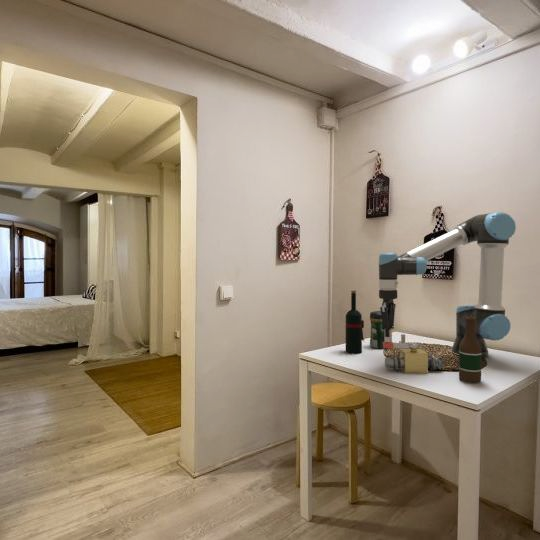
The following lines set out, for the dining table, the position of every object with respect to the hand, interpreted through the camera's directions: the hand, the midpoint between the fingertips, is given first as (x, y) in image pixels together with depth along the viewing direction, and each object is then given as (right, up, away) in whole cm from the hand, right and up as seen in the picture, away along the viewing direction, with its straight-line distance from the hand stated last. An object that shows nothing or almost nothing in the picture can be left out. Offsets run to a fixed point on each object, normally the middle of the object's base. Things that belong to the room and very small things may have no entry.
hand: (388, 344), depth 163 cm
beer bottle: (+25, -10, -20) cm, 33 cm away
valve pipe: (+8, -9, -7) cm, 14 cm away
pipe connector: (+12, -9, +15) cm, 21 cm away
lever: (+3, 0, -6) cm, 7 cm away
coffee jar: (+5, -8, +31) cm, 33 cm away
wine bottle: (-9, -8, +23) cm, 26 cm away
